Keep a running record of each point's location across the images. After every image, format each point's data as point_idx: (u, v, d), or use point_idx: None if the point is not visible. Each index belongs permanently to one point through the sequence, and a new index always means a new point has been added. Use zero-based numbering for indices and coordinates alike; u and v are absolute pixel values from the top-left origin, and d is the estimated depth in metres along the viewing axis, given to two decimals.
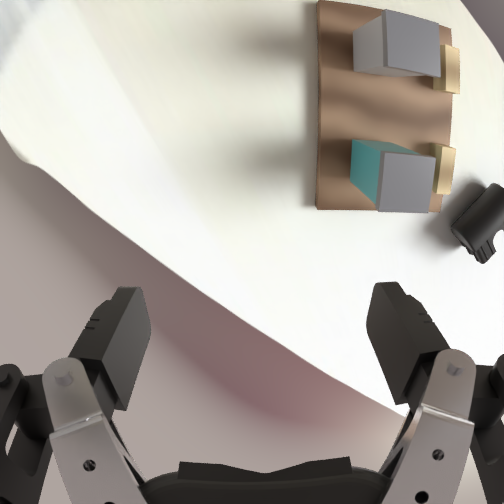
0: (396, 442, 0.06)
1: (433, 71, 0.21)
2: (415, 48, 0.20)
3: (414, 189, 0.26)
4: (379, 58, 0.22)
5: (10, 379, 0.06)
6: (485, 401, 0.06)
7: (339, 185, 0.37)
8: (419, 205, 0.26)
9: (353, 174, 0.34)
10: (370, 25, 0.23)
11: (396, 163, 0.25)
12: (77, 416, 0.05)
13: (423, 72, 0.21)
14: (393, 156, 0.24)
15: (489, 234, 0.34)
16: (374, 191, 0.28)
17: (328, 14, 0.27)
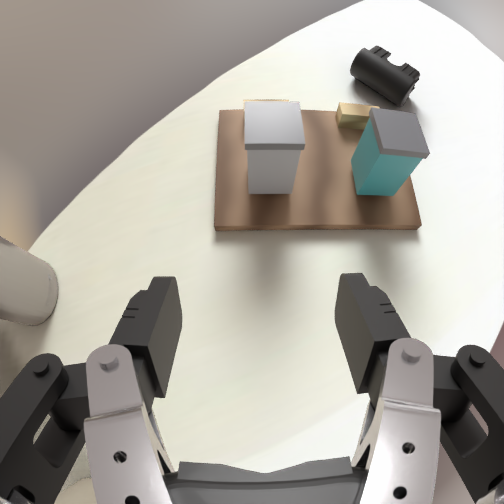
0: (361, 436, 0.07)
1: (296, 107, 0.28)
2: (279, 120, 0.28)
3: (402, 124, 0.28)
4: (292, 155, 0.29)
5: (50, 369, 0.06)
6: (445, 392, 0.06)
7: (397, 206, 0.37)
8: (412, 120, 0.28)
9: (388, 191, 0.36)
10: (252, 167, 0.31)
11: (388, 139, 0.27)
12: (116, 405, 0.06)
13: (300, 115, 0.28)
14: (383, 141, 0.27)
15: (396, 69, 0.39)
16: (410, 161, 0.29)
17: (230, 217, 0.37)
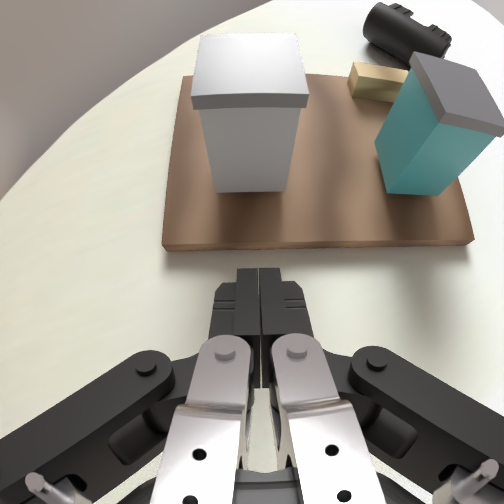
0: (276, 442, 0.07)
1: (290, 40, 0.15)
2: (259, 58, 0.14)
3: (463, 81, 0.14)
4: (285, 120, 0.15)
5: (157, 367, 0.07)
6: (338, 395, 0.07)
7: (442, 211, 0.23)
8: (475, 78, 0.14)
9: (433, 189, 0.22)
10: (214, 145, 0.17)
11: (450, 98, 0.14)
12: (217, 399, 0.06)
13: (298, 51, 0.14)
14: (444, 101, 0.13)
15: (424, 28, 0.25)
16: (478, 140, 0.15)
17: (187, 230, 0.23)
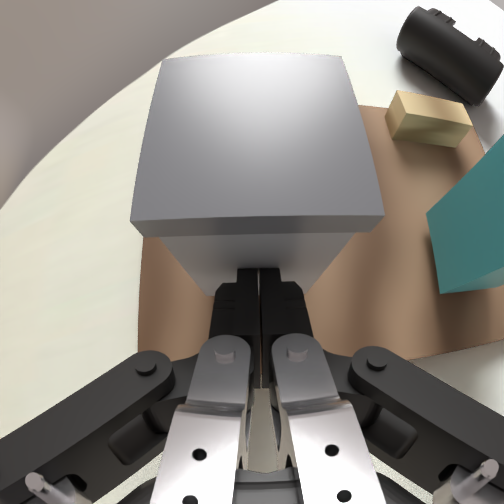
0: (277, 442, 0.07)
1: (333, 70, 0.08)
2: (276, 114, 0.07)
3: None
4: (324, 242, 0.09)
5: (157, 367, 0.07)
6: (338, 395, 0.07)
7: (497, 303, 0.16)
8: None
9: (495, 284, 0.15)
10: (196, 265, 0.11)
11: None
12: (217, 399, 0.06)
13: (351, 96, 0.07)
14: None
15: (474, 43, 0.18)
16: None
17: (170, 354, 0.16)
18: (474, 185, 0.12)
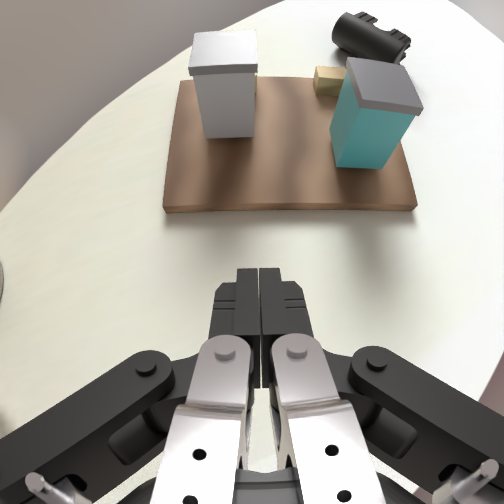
0: (277, 442, 0.07)
1: (251, 34, 0.23)
2: (230, 45, 0.22)
3: (387, 75, 0.21)
4: (246, 82, 0.24)
5: (157, 367, 0.07)
6: (338, 395, 0.07)
7: (387, 182, 0.31)
8: (400, 72, 0.22)
9: (375, 163, 0.29)
10: (203, 100, 0.26)
11: (369, 89, 0.21)
12: (217, 399, 0.06)
13: (255, 40, 0.23)
14: (363, 91, 0.21)
15: (384, 32, 0.32)
16: (400, 120, 0.22)
17: (182, 196, 0.30)
18: (340, 101, 0.26)
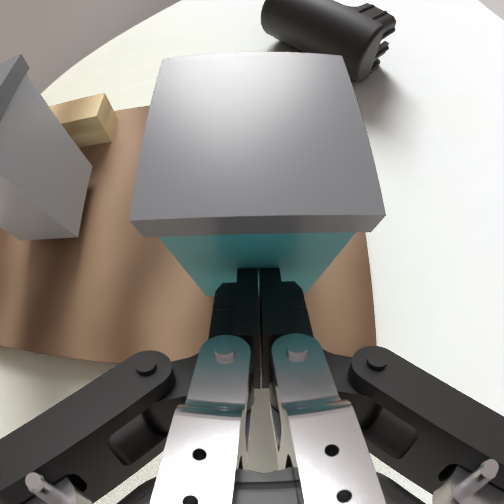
0: (276, 442, 0.07)
1: (8, 67, 0.09)
2: None
3: (271, 94, 0.07)
4: None
5: (157, 367, 0.07)
6: (338, 395, 0.07)
7: (319, 317, 0.17)
8: (325, 76, 0.08)
9: None
10: None
11: (173, 168, 0.07)
12: (217, 399, 0.06)
13: (3, 81, 0.09)
14: (146, 184, 0.07)
15: (345, 8, 0.18)
16: (310, 240, 0.08)
17: (0, 330, 0.16)
18: None
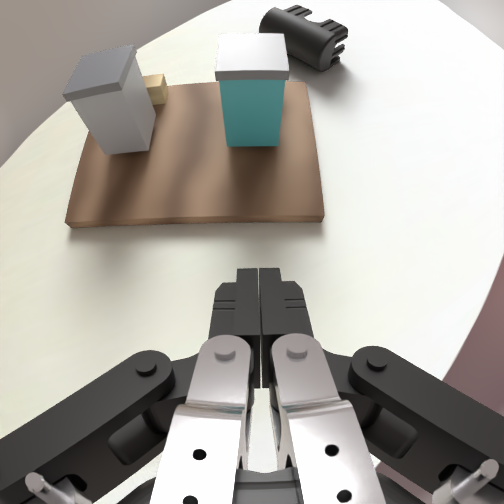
0: (276, 442, 0.07)
1: (127, 49, 0.22)
2: (103, 65, 0.21)
3: (257, 45, 0.21)
4: (117, 99, 0.23)
5: (157, 367, 0.07)
6: (338, 395, 0.07)
7: (288, 190, 0.29)
8: (275, 40, 0.22)
9: (267, 139, 0.29)
10: (88, 121, 0.25)
11: (227, 61, 0.21)
12: (217, 399, 0.06)
13: (128, 56, 0.21)
14: (219, 64, 0.21)
15: (311, 24, 0.31)
16: (270, 88, 0.22)
17: (80, 212, 0.29)
18: None
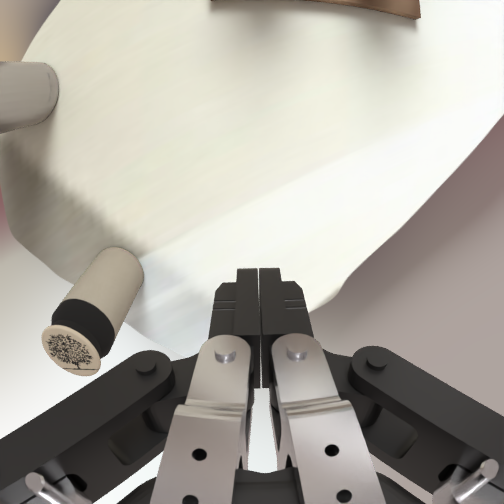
0: (277, 442, 0.07)
1: None
2: None
3: None
4: None
5: (157, 367, 0.07)
6: (338, 395, 0.07)
7: None
8: None
9: None
10: None
11: None
12: (217, 399, 0.06)
13: None
14: None
15: None
16: None
17: None
18: None
